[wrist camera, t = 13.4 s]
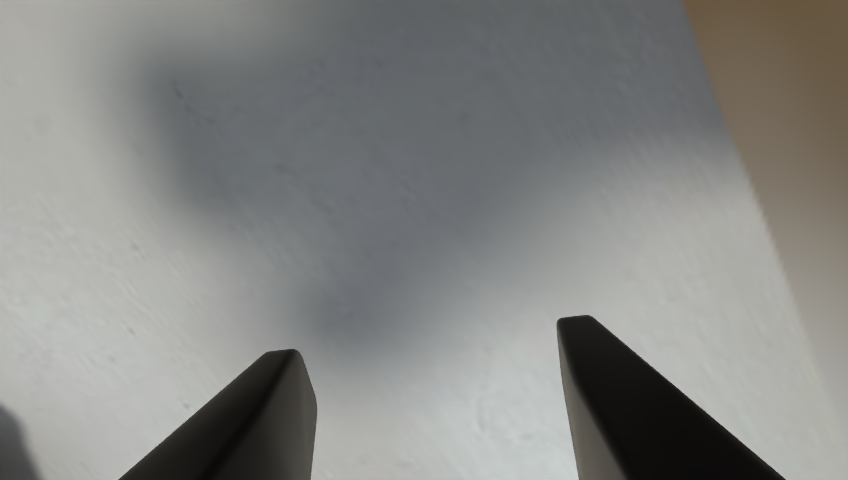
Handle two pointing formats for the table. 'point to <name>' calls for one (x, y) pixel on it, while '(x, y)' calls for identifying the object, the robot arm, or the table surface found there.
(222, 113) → the table surface
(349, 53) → the table surface
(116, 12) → the table surface
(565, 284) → the table surface
